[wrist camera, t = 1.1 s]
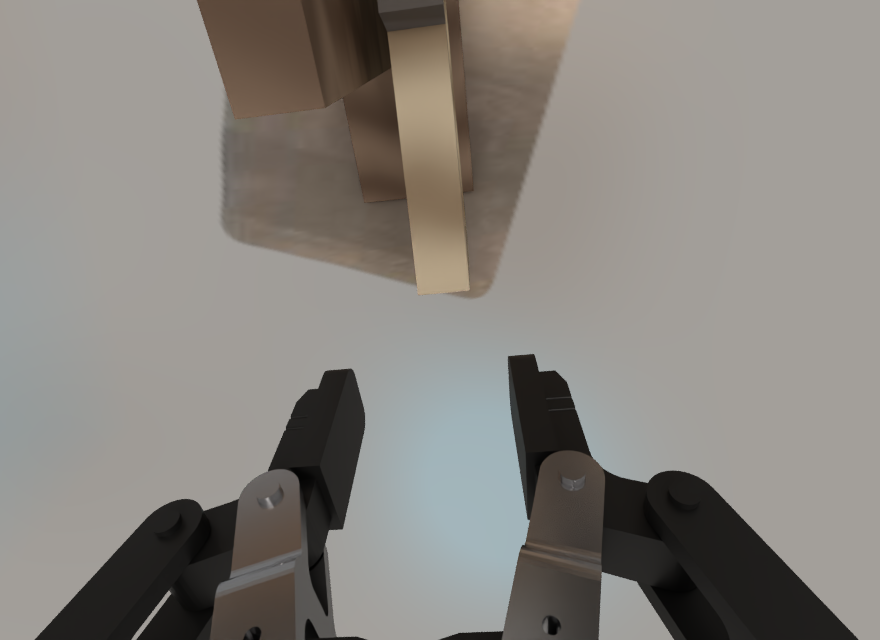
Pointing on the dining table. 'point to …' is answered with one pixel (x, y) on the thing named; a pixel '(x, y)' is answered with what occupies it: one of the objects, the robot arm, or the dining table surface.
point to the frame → (428, 141)
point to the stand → (327, 74)
